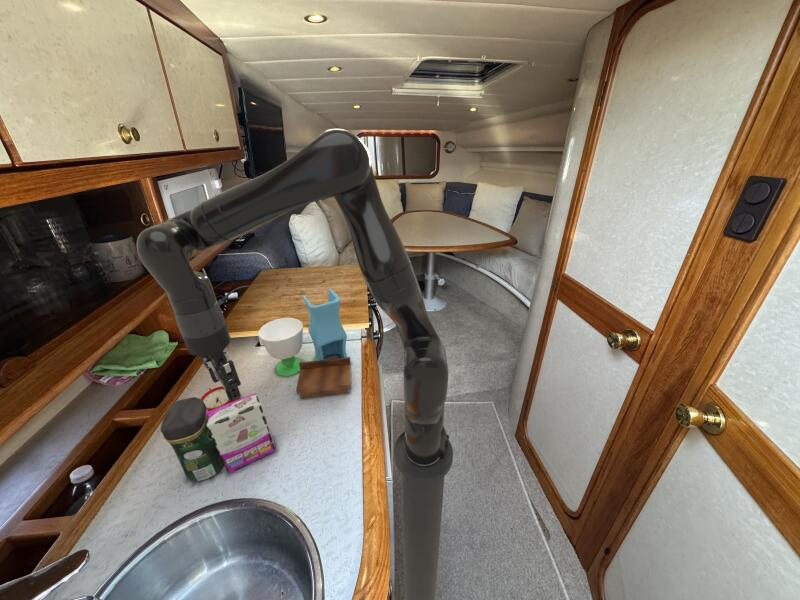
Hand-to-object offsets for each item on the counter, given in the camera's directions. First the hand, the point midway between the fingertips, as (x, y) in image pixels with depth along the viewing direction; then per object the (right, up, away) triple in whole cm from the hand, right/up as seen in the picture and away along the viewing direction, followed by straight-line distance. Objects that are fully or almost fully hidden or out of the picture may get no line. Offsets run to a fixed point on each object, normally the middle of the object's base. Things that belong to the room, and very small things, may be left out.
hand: (226, 388), depth 68 cm
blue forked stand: (+13, -2, +42) cm, 44 cm away
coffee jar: (-9, -21, +9) cm, 24 cm away
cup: (0, -4, +40) cm, 40 cm away
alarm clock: (-15, -13, +23) cm, 30 cm away
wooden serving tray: (+14, -8, +32) cm, 36 cm away
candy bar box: (0, -20, +11) cm, 22 cm away
